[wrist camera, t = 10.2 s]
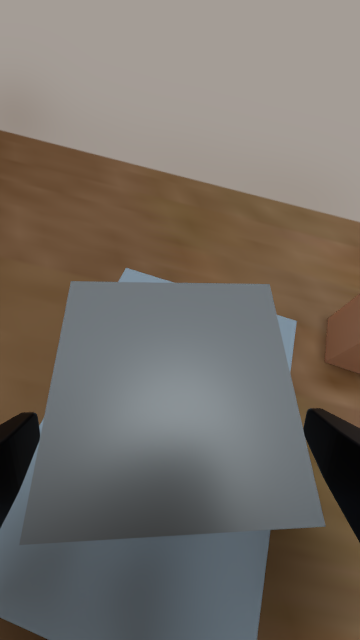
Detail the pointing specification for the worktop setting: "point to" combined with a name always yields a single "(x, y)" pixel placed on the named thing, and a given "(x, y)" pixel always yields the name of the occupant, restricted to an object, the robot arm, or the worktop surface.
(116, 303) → the tall gray block
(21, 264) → the worktop surface
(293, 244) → the worktop surface
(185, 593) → the board
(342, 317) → the exposed block
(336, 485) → the robot arm
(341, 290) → the worktop surface
